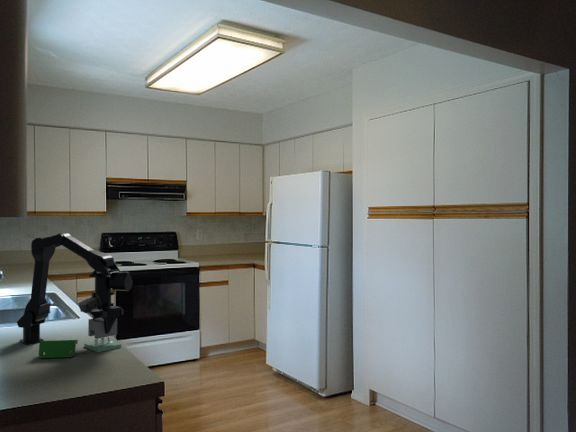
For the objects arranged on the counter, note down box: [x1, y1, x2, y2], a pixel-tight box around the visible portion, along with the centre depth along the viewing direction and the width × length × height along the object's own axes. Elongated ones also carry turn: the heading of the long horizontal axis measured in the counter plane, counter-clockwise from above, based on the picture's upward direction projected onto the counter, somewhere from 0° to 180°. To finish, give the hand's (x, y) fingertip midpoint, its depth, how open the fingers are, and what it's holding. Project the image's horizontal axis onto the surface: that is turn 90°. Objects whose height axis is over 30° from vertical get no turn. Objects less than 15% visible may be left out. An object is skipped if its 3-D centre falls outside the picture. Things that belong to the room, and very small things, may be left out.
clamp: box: [38, 339, 79, 359], centre depth 172 cm, size 12×6×9 cm, turn 95°
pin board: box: [83, 336, 122, 353], centre depth 183 cm, size 10×9×3 cm
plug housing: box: [87, 317, 118, 340], centre depth 183 cm, size 6×8×6 cm
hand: (102, 331), depth 183 cm, fingers closed on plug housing, 6 cm apart
